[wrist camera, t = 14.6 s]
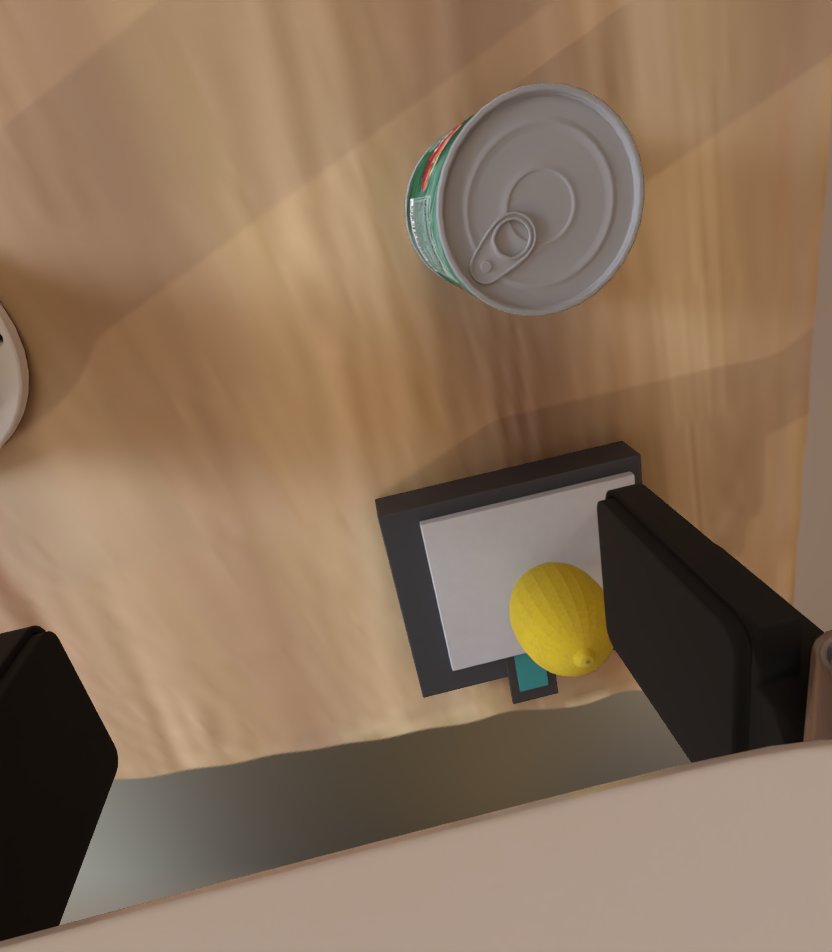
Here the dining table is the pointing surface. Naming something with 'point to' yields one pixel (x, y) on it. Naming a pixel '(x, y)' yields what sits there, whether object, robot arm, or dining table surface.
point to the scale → (493, 560)
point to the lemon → (560, 619)
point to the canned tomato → (529, 200)
